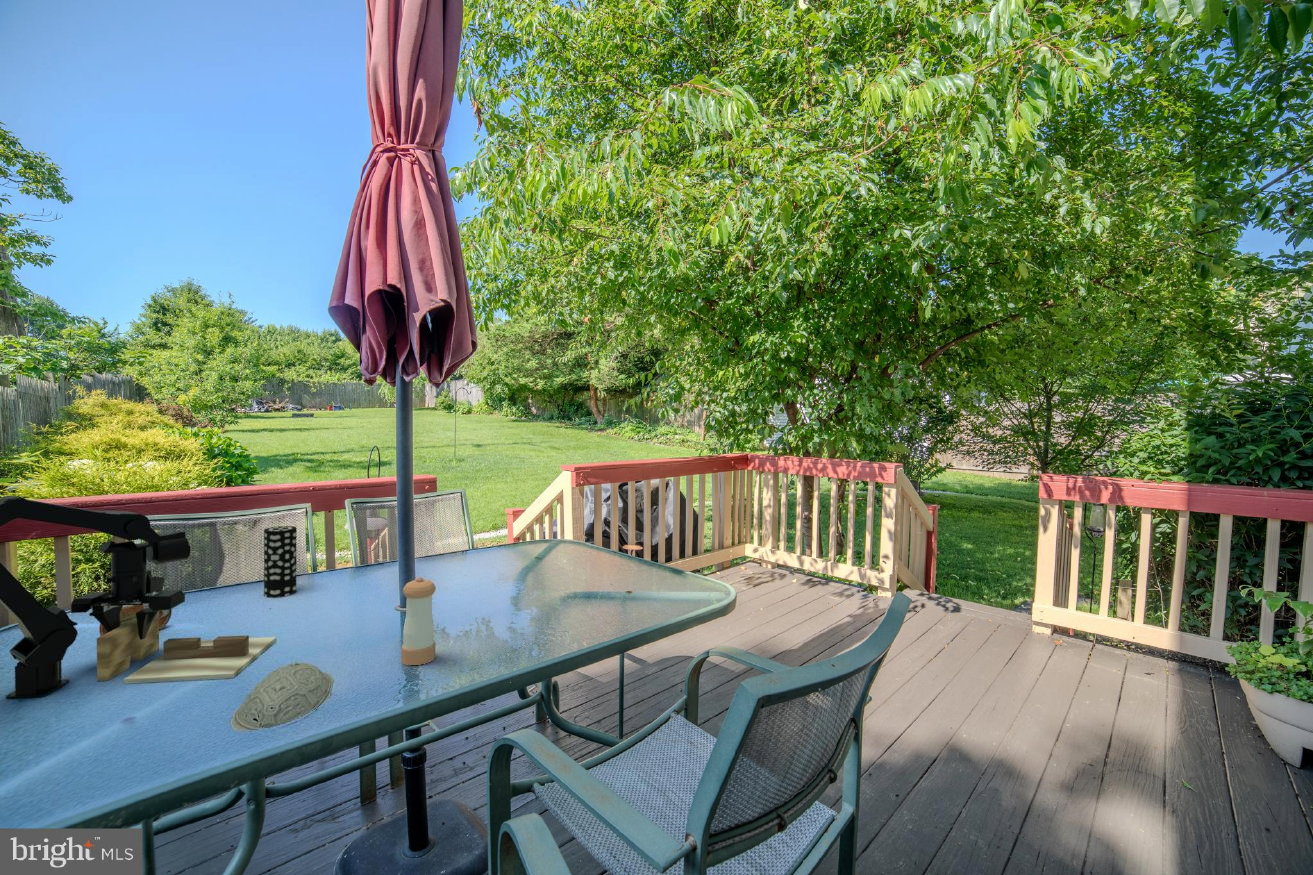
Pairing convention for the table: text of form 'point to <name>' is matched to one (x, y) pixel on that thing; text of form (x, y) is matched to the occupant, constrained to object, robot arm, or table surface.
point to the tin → (130, 614)
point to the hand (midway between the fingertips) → (129, 639)
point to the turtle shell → (283, 697)
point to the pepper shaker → (418, 623)
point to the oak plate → (124, 648)
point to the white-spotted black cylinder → (280, 561)
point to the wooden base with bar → (201, 659)
